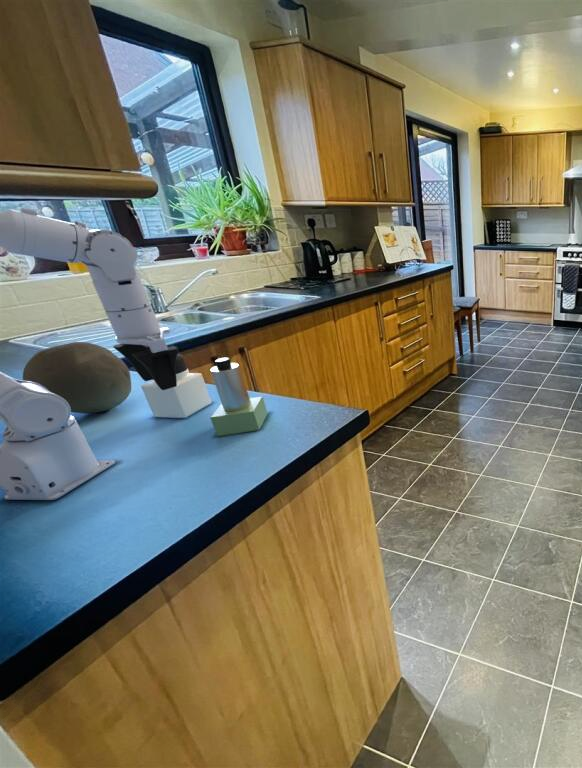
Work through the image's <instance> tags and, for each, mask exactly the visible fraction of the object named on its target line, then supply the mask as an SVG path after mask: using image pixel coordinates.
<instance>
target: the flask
mask: <svg viewBox="0 0 582 768" xmlns="http://www.w3.org/2000/svg"><path fill="white" fill-rule="evenodd" d="M214 363H215V366H213V367H211V368H209V369H210V370H209V371H210V374H211V377H212V380H213V383H214V385H215V388H216V391H217V394H218V396H219V400H220V404H221V403H222V405H223V408H224V410H225V411H238V410H241V409H244V408H246V407H248V406H250V404H251V402H250V399H249V398H250V396H249V392H248V390H247V386H246V383H245V380H244V377H243V374H242V371H241V367H240V364H238V363H236V362H231V359H230V357H220V358H217V359H215V360H214Z"/></svg>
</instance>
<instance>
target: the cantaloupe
mask: <svg viewBox="0 0 582 768" xmlns="http://www.w3.org/2000/svg"><path fill="white" fill-rule="evenodd" d="M131 378H132V377H131V372H130V370H129V367H128V366H127V365H126V363H125V362H124V361H123V360H122V359H121V358H120V357H118V356H117V355H116V354H115V353H114V352H112V351H111V350H110V349H109V348H106V347H105V346H101V345H98V344H95V343H92V342H85V341H72V342H68V343H63V344H57V345H54V346H51V347H48V348H44V349H41V350H39V351H37V352H36V353H34V355H32V356H31V358H30V359H29V360H28V361H27V362H26V364H25V366H24V368H23V372H22V380H23V381H31V382H35V383H38V384H40V385H42V386H44V387H45V388H47V389H48V390H49V391H50V392H51V393H54V394H56V395H58V396H60V397H62V398H63V399H65V400H66V401H67V402H68V404H69V405H70V408H71V413H75V414H95V413H101V412H106V411H110V410H112V409H114V408H116V407H118V406H119V405H121V404H122V403H124V402H125V401H126V400H127V399H128V397H129V396H130V394H131V393H132V379H131Z"/></svg>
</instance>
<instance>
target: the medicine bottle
mask: <svg viewBox="0 0 582 768" xmlns="http://www.w3.org/2000/svg"><path fill="white" fill-rule="evenodd" d="M175 370H176V380H177V386H176V387H173V388H169V389H166V390H161V389H160V388H159V386H158V385H157V384H156V382H155V381H154V379H152V380H150V381H148V382H146V383H144V384H142V385H141V386H140V387H141V390H142V392H143V395H144V397H145V399H146V401H147V403H148V406H149V408H150V411H151V413H152V415H153V417H154V418H170V419H171V418H172V419H186V418H189V417H190V416H192V415H193V414H196V413H197V412H198V411H201V410H203V409H204V408H206V407H207V406H209V405H211V404H212V399H211V397H210V393H209V391H208V388H207V385H206V382H205V379H204V377H203V374H202V373H201V372H200V373H199V372H190V370H189V368H188V365H187V362H186V360H185V357H184V355H182V354H180V353H178V354H177V357H176V363H175Z"/></svg>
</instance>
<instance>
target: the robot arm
mask: <svg viewBox="0 0 582 768" xmlns="http://www.w3.org/2000/svg"><path fill="white" fill-rule="evenodd" d="M0 247H1V248H2V249H3V250H4V251H6V252H8V253H10V254H15V255H22V256H27V257H34V258H39V259H44V260H45V259H46V260H51V261H58V262H64V263H70V264H79V263H81V264H83V265H85V267H86V269H87V272H88V274H89V276H90V278H91V280H92V281H91V282H92V285H93V287H94V289H95V291H96V294H97V296H98V298H99V300H100V302H101V305H102V307H103V309H104V312H105V315H106V317H107V319H108V322H109V323H110V326H111V328H112V330H113V332H114V334H115V338H114V339H115V341H116V343H118V344H115V345H113V346H112V347H113V348H114V349H115V350H116V351H117V352H118V353H119V354H121V355H122V356H123V357H124V358H125V359H126V360H127V361H128V362H129V363H130V364H131V366H132V367H133V368H134V370H135V372H137V374H138V375H139V376H140V378H141V379H142V380H143V381H144V382H150V381H153V380H152V379H154V381H155V382H156V384H157V385H158V386H159V388H160V389H161V390H166V389H169V388H173V387H176V386H177V380H176V370H175V363H176V357H177V354H179V348H178V346H176V345H171V346H168V345H167V343H166V340H165V338H164V336H165V335H166V334H169V333H171V328H170V327H161V326H160V324H159V321H158V319H157V316H156V314H155V312H154V311H155V310H154V308H153V306H152V304H151V301H150V299H149V296H148V293H147V291H146V289H145V285H144V283H143V281H142V278H141V276H140V275H139V271H138V269H137V266H136V263H137V260H138V256H139V255H138V254H139V253H138V249H137V247H135V246H133V244H132V243H131V242H130V240H129V239H128V238H126V237H125V236H123V235H122V234H120V233H119V232H116V231H113V230H108V229H96V228H92V227H90V228H88V224H87V223H86V222H83V221H77V220H76V221H74V222H69V221H64V220H59V219H55V218H52V217H47V216H43V215H39V211H38V210H36V209H31V208H27V207H21V208H20V210H16V209H11V208H9V209H5V210H2V211H1V212H0ZM0 420H1V421H2V422H3V424H4V425H5V427H4V428H5V429H4V432H3V433H2V437H3V441H2V443H1V444H0V486H1V488H2V489H3V491H4V492H5V493H6V495H4V497H3V498H4V499H5V500H9V501H10V500H16V501H17V500H19V501H20V500H21V501H22V500H23V501H24V500H25V501H55V500H58V499H59V498H61V497H63V496H65V495H66V494H68V493H69V492H71V491H72V490H74V489H76V488H78V487H79V486H80V485H82V484H84V483H85V482H87V481H89V480H90V479H93V477H95V476H97V475H98V474H100V473H102V472H103V471H105V470H107V469H108V468H110V467H111V466H113V465H114V464H116V461H115V460H113V459H97V458H96V456H95V454H94V452H93V450H92V448H91V446H90V444H89V443H88V440H87V439H86V437H85V435H84V433H83V431H82V429H81V427H80V425H79V423H78V421H77V420H76V418H75V416H74V415H73V414H72V412H71V408H70V405H69V404H68V402H67V401H66V400H65V399H63V398H62V397H60V396H58V395H56V394H54V393H51V392H50V391H49V390H48V389H47V388H45V387H44V386H42V385H40V384H38V383H35V382H31V381H23V379H18V378H17V379H16V378H15V377H12V376H10V375H8V374H6V373H5V372H3V371H0Z"/></svg>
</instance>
